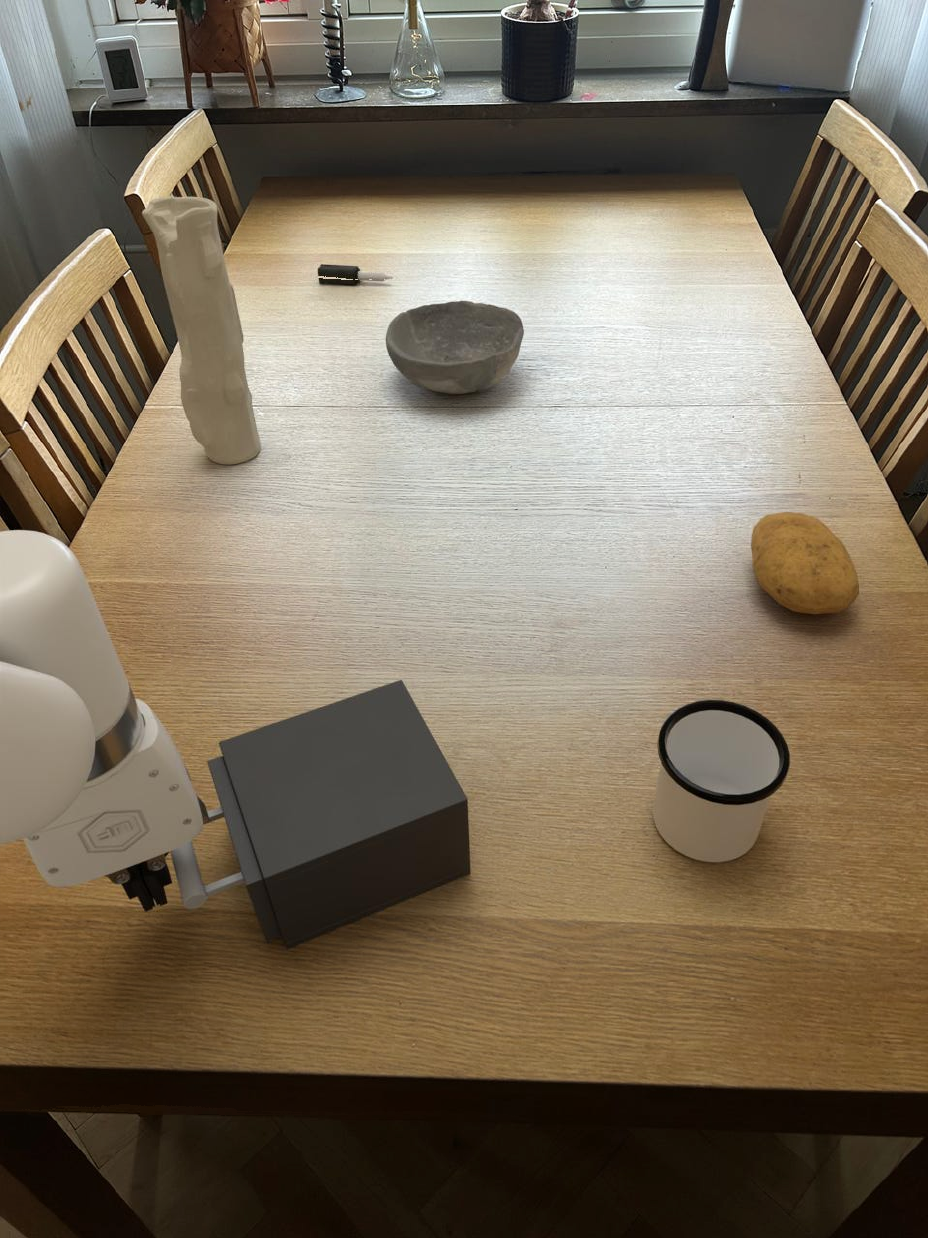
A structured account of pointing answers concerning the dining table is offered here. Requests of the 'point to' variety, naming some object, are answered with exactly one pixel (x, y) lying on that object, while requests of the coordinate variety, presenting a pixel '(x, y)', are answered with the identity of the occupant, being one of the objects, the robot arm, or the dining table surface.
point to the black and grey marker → (348, 274)
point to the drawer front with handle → (250, 871)
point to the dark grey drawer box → (348, 810)
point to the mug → (716, 778)
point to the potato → (803, 564)
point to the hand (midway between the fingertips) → (153, 891)
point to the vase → (205, 327)
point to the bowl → (455, 345)
